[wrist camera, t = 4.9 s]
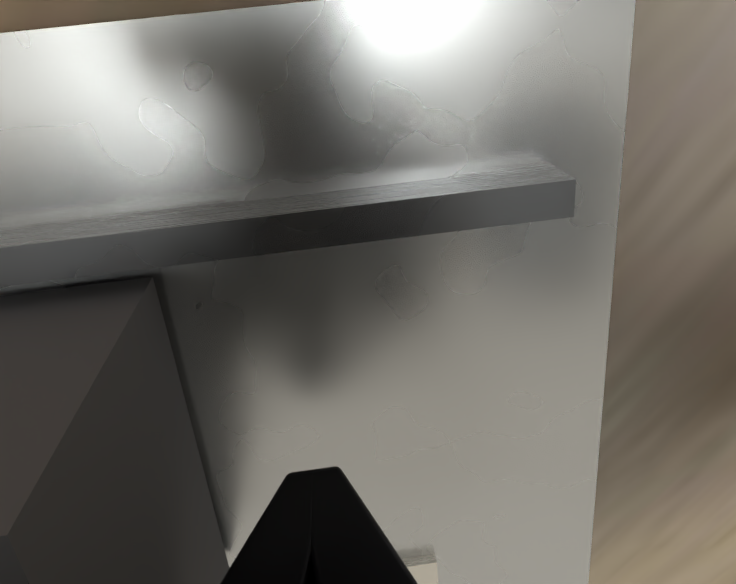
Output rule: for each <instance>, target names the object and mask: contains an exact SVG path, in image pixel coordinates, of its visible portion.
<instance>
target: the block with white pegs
mask: <svg viewBox="0 0 736 584" xmlns="http://www.w3.org/2000/svg"><path fill="white" fill-rule="evenodd" d="M228 570H229V564H228V561H227V557H226V553H225V549H224V545H223V542H222V538H221V534H220V530H219V526H218V523H217V519H216V515H215V511H214V507H213V504H212V500H211V496H210V492H209V489H208V485H207V481H206V477H205V473H204V470H203V466H202V462H201V458H200V454H199V451H198V447H197V443H196V439H195V435H194V432H193V428H192V424H191V420H190V416H189V413H188V409H187V405H186V401H185V397H184V394H183V390H182V386H181V382H180V378H179V375H178V371H177V367H176V363H175V359H174V356H173V352H172V348H171V344H170V340H169V337H168V333H167V329H166V325H165V321H164V318H163V314H162V310H161V306H160V302H159V299H158V295H157V291H156V287H155V283H154V280H153V277H149V278H141V279H133V280H125V281H117V282H109V283H100V284H92V285H84V286H76V287H68V288H60V289H51V290H43V291H35V292H27V293H19V294H11V295H3V296H0V584H220V583H221V581H222V580H223V578H224V576H225V575H226V573H227V572H228Z"/></svg>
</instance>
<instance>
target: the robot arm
mask: <svg viewBox="0 0 736 584" xmlns="http://www.w3.org/2000/svg"><path fill="white" fill-rule="evenodd" d="M220 584H418V583H417V581H416V580H415V578H414V577H413V575H412V574H411V572H410V571H409V569H408V568H407V566H406V565H405V563H404V562H403V560H402V559H401V557H400V556H399V554H398V553H397V551H396V550H395V548H394V547H393V546H392V544H391V543H390V541H389V540H388V538H387V537H386V535H385V534H384V532H383V531H382V529H381V528H380V526H379V525H378V523H377V522H376V520H375V519H374V517H373V516H372V514H371V513H370V511H369V510H368V508H367V507H366V505H365V504H364V502H363V501H362V499H361V498H360V496H359V495H358V493H357V492H356V490H355V489H354V487H353V486H352V484H351V483H350V481H349V480H348V478H347V477H346V475H345V474H344V472H343V471H342V470H341V469H340V468H339V467H337V466H333V467H326V468H319V469H311V470H304V471H297V472H291V473H289V474H287V475H286V477H285V478H284V480H283V481H282V483H281V485H280V486H279V488H278V490H277V491H276V493H275V494H274V496H273V498H272V499H271V501H270V503H269V504H268V506H267V508H266V509H265V511H264V512H263V514H262V516H261V517H260V519H259V521H258V522H257V524H256V526H255V527H254V529H253V531H252V532H251V534H250V535H249V537H248V539H247V540H246V542H245V544H244V545H243V547H242V549H241V550H240V552H239V553H238V555H237V557H236V558H235V560H234V562H233V563H232V565H231V567H230V568H229V570H228V572H227V573H226V575H225V576H224V578H223V580H222V581H221V583H220Z"/></svg>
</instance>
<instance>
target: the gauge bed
mask: <svg viewBox="0 0 736 584" xmlns="http://www.w3.org/2000/svg"><path fill="white" fill-rule="evenodd" d="M635 2H636V0H317V1H307V2H298V3H288V4H278V5H268V6H259V7H249V8H239V9H230V10H220V11H210V12H200V13H191V14H181V15H171V16H161V17H152V18H142V19H132V20H123V21H113V22H103V23H93V24H84V25H74V26H64V27H54V28H45V29H35V30H25V31H16V32H6V33H0V296H3V295H11V294H19V293H27V292H35V291H43V290H51V289H60V288H68V287H76V286H84V285H92V284H100V283H109V282H117V281H125V280H133V279H141V278H149V277H153V280H154V283H155V287H156V291H157V295H158V299H159V302H160V306H161V310H162V314H163V318H164V321H165V325H166V329H167V333H168V337H169V340H170V344H171V348H172V352H173V356H174V359H175V363H176V367H177V371H178V375H179V378H180V382H181V386H182V390H183V394H184V397H185V401H186V405H187V409H188V413H189V416H190V420H191V424H192V428H193V432H194V435H195V439H196V443H197V447H198V451H199V454H200V458H201V462H202V466H203V470H204V473H205V477H206V481H207V485H208V489H209V492H210V496H211V500H212V504H213V507H214V511H215V515H216V519H217V523H218V526H219V530H220V534H221V538H222V542H223V545H224V549H225V553H226V557H227V561H228V564H229V568H230V567H231V565H232V563H233V562H234V560H235V558H236V557H237V555H238V553H239V552H240V550H241V549H242V547H243V545H244V544H245V542H246V540H247V539H248V537H249V535H250V534H251V532H252V531H253V529H254V527H255V526H256V524H257V522H258V521H259V519H260V517H261V516H262V514H263V512H264V511H265V509H266V508H267V506H268V504H269V503H270V501H271V499H272V498H273V496H274V494H275V493H276V491H277V490H278V488H279V486H280V485H281V483H282V481H283V480H284V478H285V477H286V475H287V474H289V473H291V472H297V471H304V470H311V469H319V468H326V467H333V466H337V467H339V468H340V469H341V470H342V471H343V472H344V474H345V475H346V477H347V478H348V480H349V481H350V483H351V484H352V486H353V487H354V489H355V490H356V492H357V493H358V495H359V496H360V498H361V499H362V501H363V502H364V504H365V505H366V507H367V508H368V510H369V511H370V513H371V514H372V516H373V517H374V519H375V520H376V522H377V523H378V525H379V526H380V528H381V529H382V531H383V532H384V534H385V535H386V537H387V538H388V540H389V541H390V543H391V544H392V546H393V547H394V548H395V550H396V551H397V553H398V554H399V556H400V557H401V559H402V560H403V562H404V563H405V565H406V566H407V568H408V569H409V571H410V572H411V574H412V575H413V577H414V578H415V580H416V581H417V583H418V584H588V582H589V570H590V557H591V545H592V533H593V520H594V508H595V495H596V483H597V471H598V458H599V446H600V434H601V421H602V409H603V397H604V384H605V372H606V360H607V347H608V335H609V323H610V310H611V298H612V286H613V273H614V261H615V249H616V236H617V224H618V212H619V199H620V187H621V175H622V162H623V150H624V138H625V125H626V113H627V101H628V88H629V76H630V64H631V51H632V39H633V27H634V14H635Z"/></svg>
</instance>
